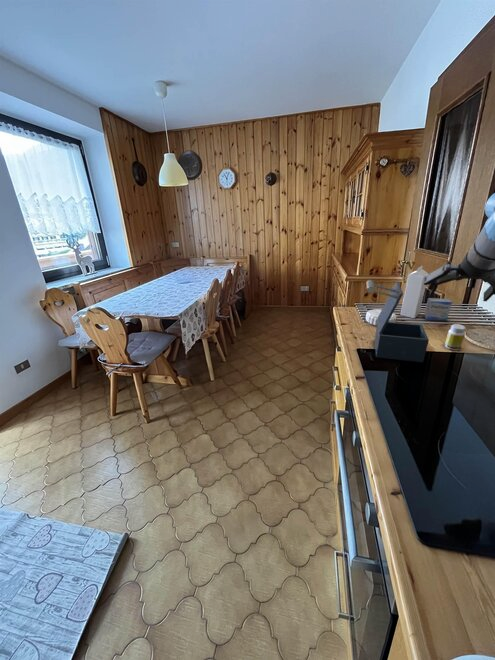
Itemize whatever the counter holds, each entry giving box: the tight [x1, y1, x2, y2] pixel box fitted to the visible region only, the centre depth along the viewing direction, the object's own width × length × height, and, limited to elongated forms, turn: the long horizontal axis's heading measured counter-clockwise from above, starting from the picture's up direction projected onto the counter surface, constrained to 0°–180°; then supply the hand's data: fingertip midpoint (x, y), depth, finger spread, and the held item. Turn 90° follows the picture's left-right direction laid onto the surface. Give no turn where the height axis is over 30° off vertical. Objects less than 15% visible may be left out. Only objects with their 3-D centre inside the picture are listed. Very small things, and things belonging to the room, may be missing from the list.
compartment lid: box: [365, 279, 404, 334], centre depth 97 cm, size 16×12×10 cm
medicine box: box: [423, 297, 453, 322], centre depth 122 cm, size 8×4×9 cm, turn 73°
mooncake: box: [365, 308, 397, 327], centre depth 124 cm, size 12×12×4 cm
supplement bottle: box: [444, 323, 466, 351], centre depth 101 cm, size 5×5×8 cm
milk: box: [399, 265, 429, 319], centre depth 123 cm, size 6×6×22 cm
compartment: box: [374, 321, 430, 363], centre depth 101 cm, size 15×12×9 cm
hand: (457, 294), depth 85 cm, fingers open, 13 cm apart
